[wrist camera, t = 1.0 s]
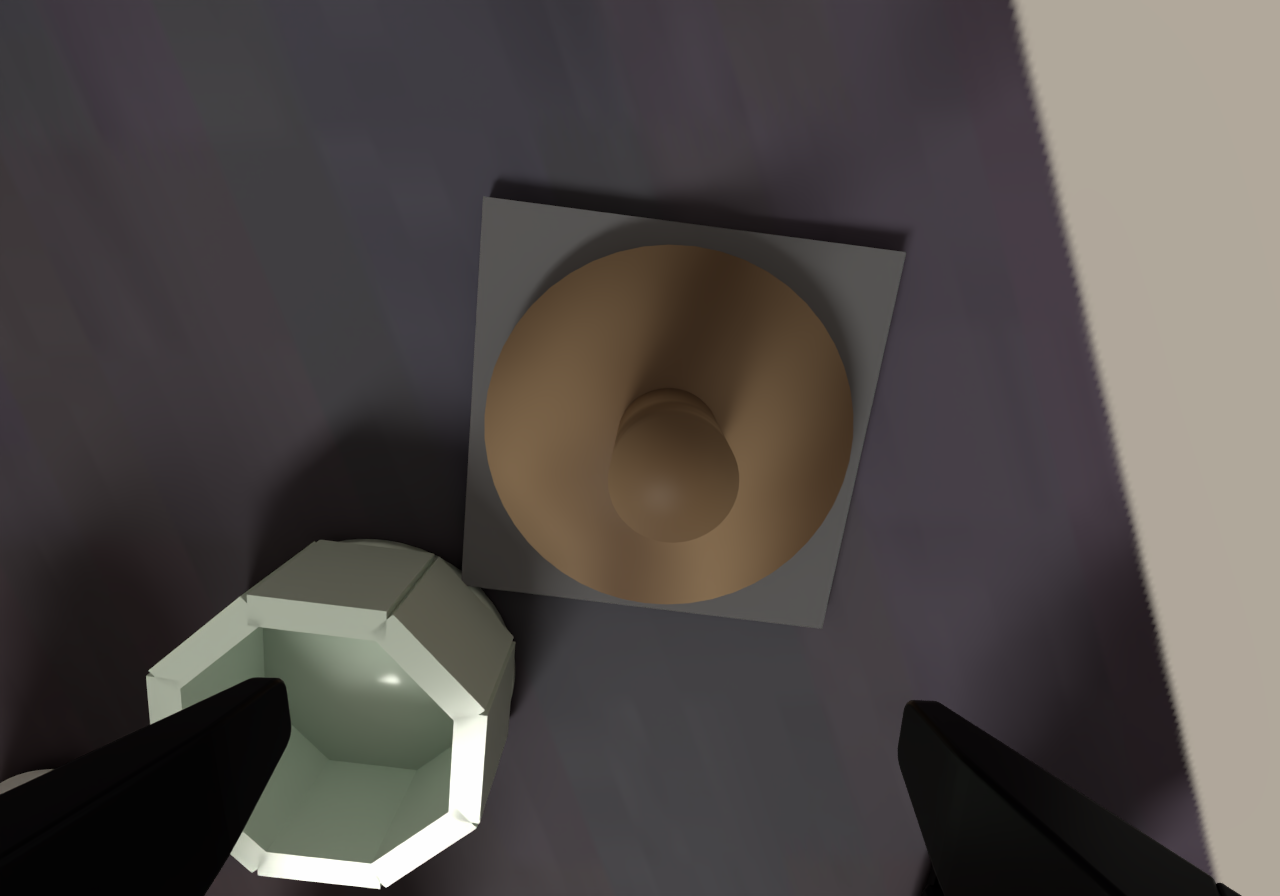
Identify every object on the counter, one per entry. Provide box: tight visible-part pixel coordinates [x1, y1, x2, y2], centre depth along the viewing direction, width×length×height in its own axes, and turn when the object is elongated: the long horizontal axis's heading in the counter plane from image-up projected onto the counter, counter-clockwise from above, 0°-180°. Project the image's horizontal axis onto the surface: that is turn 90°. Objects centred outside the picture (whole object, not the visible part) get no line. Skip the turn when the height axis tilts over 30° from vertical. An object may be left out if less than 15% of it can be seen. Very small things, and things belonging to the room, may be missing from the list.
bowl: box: [146, 539, 516, 889], centre depth 21 cm, size 10×10×5 cm
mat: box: [461, 197, 906, 629], centre depth 20 cm, size 13×13×1 cm
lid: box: [485, 245, 853, 604], centre depth 17 cm, size 12×12×6 cm
